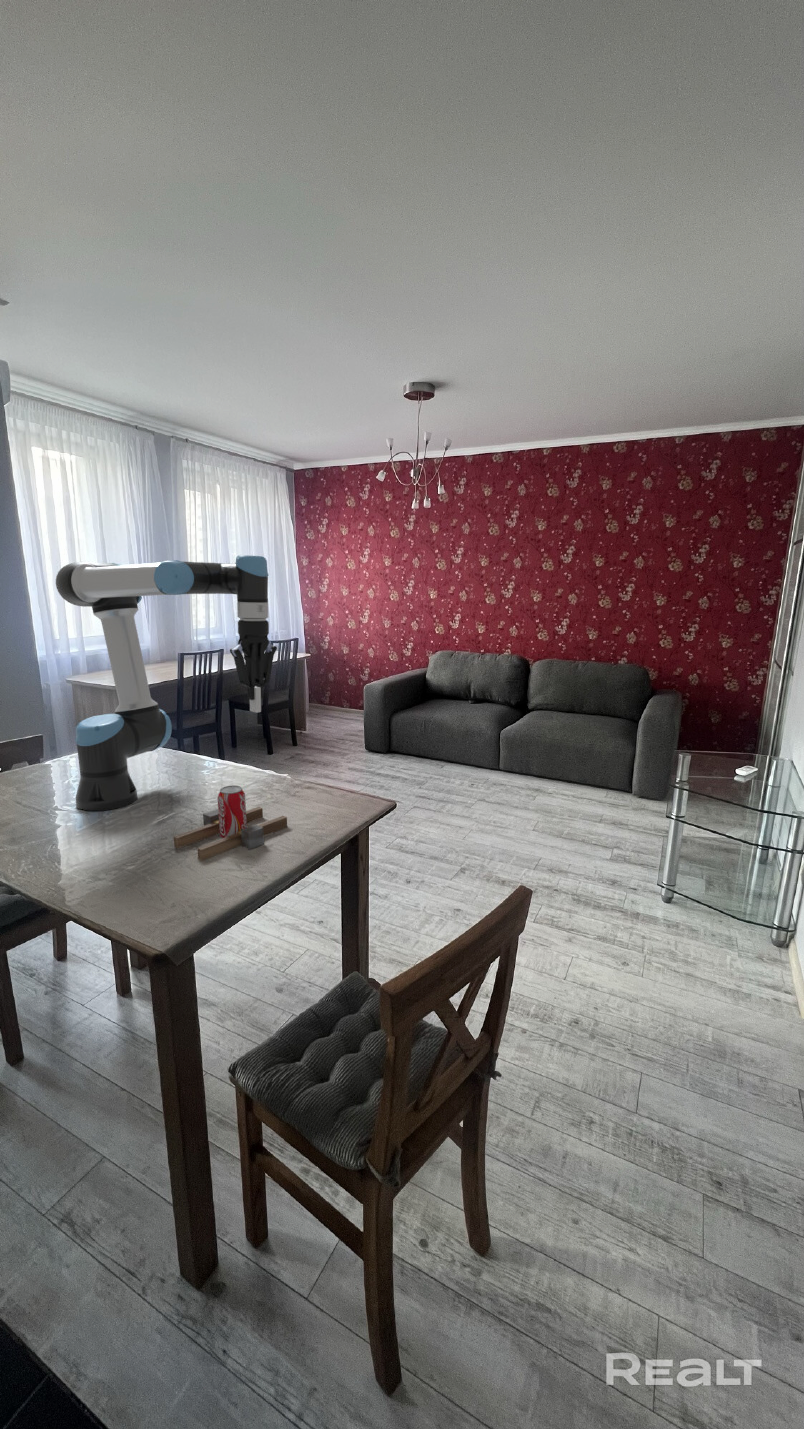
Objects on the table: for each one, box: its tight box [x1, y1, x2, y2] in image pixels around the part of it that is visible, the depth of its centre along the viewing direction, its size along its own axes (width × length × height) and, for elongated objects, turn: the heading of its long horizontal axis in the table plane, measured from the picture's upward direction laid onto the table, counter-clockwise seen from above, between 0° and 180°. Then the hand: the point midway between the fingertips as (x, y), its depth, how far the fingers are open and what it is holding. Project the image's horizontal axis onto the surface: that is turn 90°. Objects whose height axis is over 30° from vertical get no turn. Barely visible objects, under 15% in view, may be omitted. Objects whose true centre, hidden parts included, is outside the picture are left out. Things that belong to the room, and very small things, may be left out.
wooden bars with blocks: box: [173, 806, 288, 861], centre depth 141 cm, size 18×24×4 cm
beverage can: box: [217, 784, 248, 839], centre depth 139 cm, size 6×6×12 cm
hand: (255, 711), depth 153 cm, fingers closed
